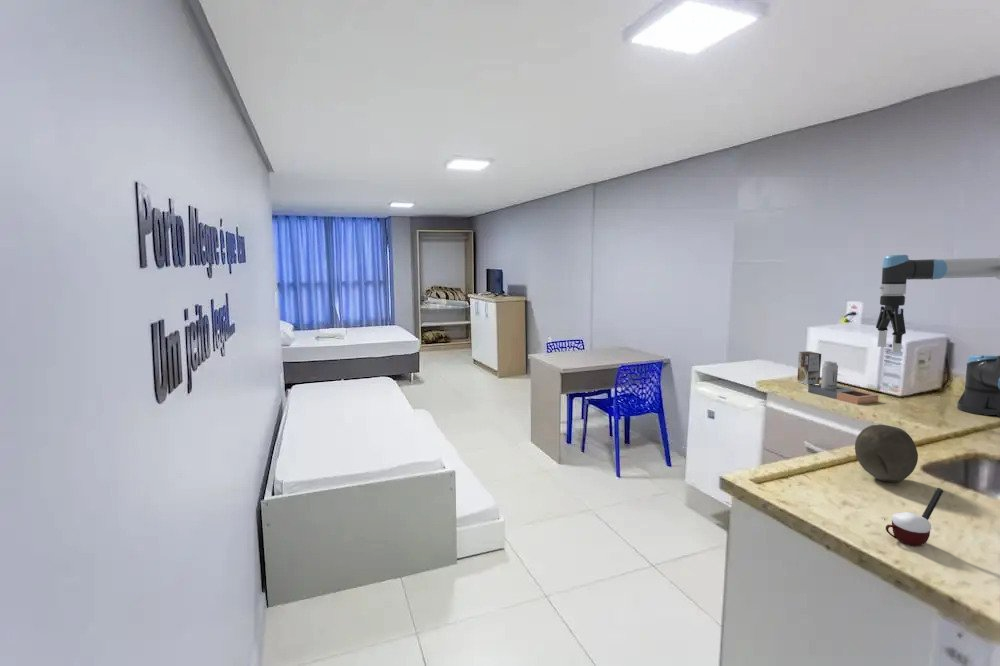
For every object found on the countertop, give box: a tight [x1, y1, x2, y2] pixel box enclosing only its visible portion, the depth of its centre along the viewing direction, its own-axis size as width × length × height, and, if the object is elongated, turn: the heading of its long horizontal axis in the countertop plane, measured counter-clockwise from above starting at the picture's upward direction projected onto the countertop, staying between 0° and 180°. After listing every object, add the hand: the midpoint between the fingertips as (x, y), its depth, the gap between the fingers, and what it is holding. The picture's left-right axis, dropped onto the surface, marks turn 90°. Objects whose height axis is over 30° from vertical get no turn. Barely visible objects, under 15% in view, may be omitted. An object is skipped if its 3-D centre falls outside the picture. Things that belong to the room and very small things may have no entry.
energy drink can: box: [820, 360, 839, 390], centre depth 229 cm, size 6×6×15 cm
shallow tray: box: [807, 384, 880, 405], centre depth 223 cm, size 24×12×3 cm, turn 17°
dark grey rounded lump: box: [854, 424, 919, 483], centre depth 134 cm, size 14×14×15 cm
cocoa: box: [885, 487, 944, 547], centre depth 103 cm, size 10×6×12 cm, turn 56°
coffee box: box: [796, 351, 822, 386], centre depth 250 cm, size 9×6×16 cm
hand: (888, 349), depth 192 cm, fingers open, 13 cm apart
